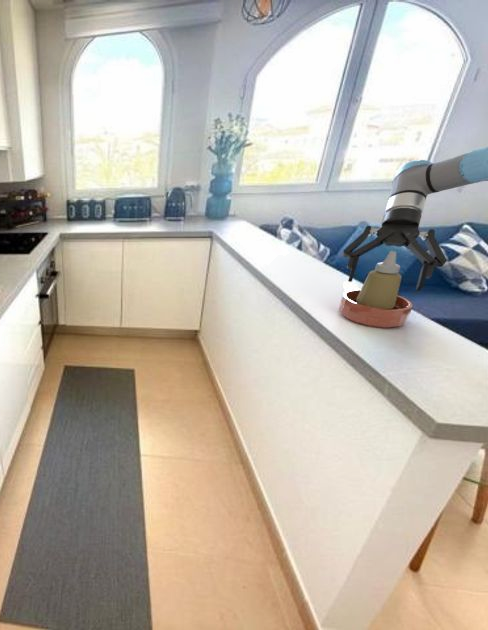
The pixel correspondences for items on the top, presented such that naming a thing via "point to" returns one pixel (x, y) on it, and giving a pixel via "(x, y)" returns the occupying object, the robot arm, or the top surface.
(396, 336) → the top surface
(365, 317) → the bowl
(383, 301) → the squeeze bottle
